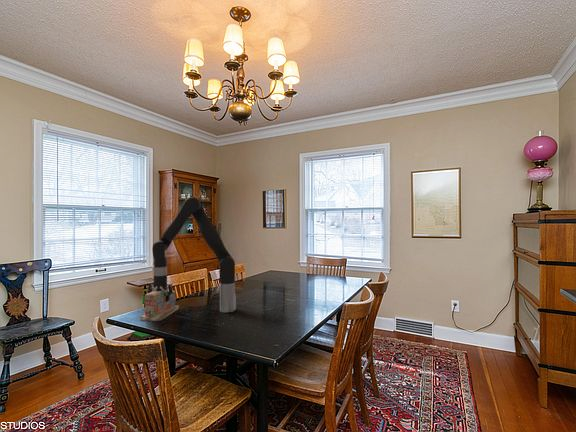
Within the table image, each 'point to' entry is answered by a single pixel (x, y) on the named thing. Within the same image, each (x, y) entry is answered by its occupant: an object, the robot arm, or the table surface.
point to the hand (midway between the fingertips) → (160, 301)
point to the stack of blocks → (158, 302)
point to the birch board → (161, 315)
